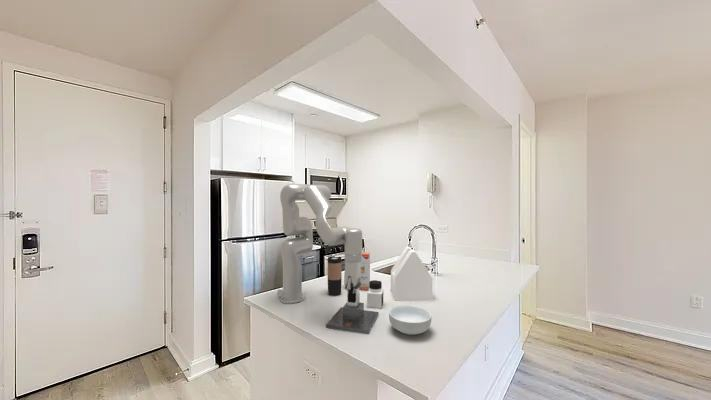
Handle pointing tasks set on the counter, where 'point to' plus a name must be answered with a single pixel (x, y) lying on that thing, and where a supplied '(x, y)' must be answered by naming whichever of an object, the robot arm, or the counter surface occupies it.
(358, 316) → the stand base
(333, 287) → the travel mug
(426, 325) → the cereal bowl
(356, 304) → the column
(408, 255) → the white house-shaped block
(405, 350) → the counter surface
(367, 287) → the cracker box
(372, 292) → the medicine bottle
